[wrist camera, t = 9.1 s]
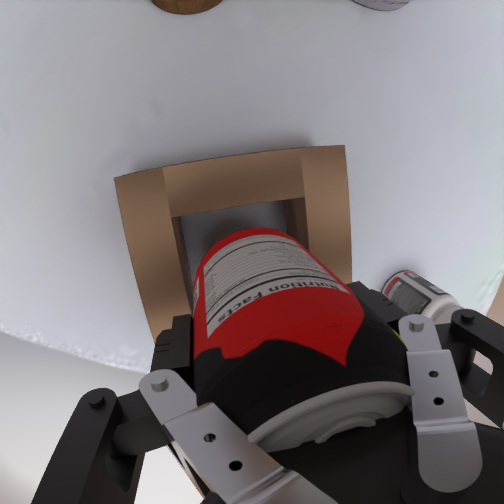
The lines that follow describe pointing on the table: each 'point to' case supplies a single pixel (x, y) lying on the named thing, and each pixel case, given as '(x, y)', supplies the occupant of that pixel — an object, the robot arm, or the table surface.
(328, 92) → the table surface
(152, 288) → the socket block
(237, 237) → the beverage can
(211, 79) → the table surface
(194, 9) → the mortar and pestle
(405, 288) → the pill bottle
